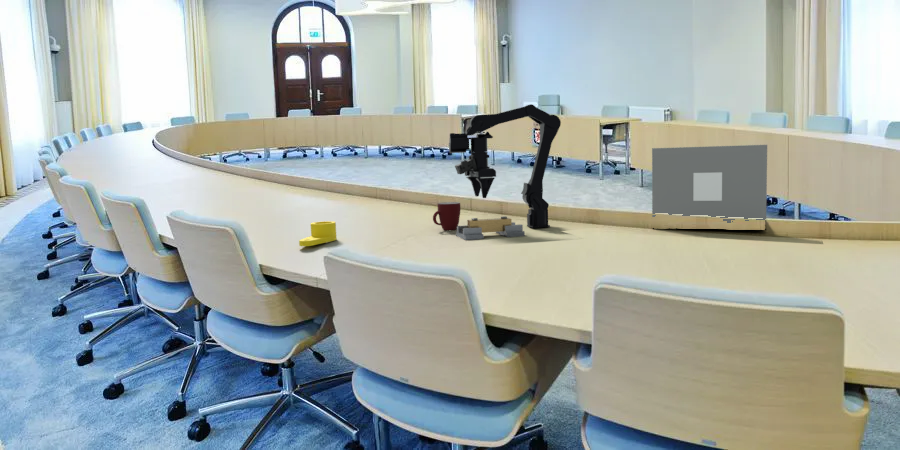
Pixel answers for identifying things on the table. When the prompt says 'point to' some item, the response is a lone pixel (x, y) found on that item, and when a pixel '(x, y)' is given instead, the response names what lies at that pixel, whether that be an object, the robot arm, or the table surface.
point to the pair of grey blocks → (477, 234)
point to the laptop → (710, 181)
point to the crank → (320, 233)
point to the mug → (448, 215)
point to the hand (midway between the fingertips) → (480, 197)
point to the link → (490, 224)
